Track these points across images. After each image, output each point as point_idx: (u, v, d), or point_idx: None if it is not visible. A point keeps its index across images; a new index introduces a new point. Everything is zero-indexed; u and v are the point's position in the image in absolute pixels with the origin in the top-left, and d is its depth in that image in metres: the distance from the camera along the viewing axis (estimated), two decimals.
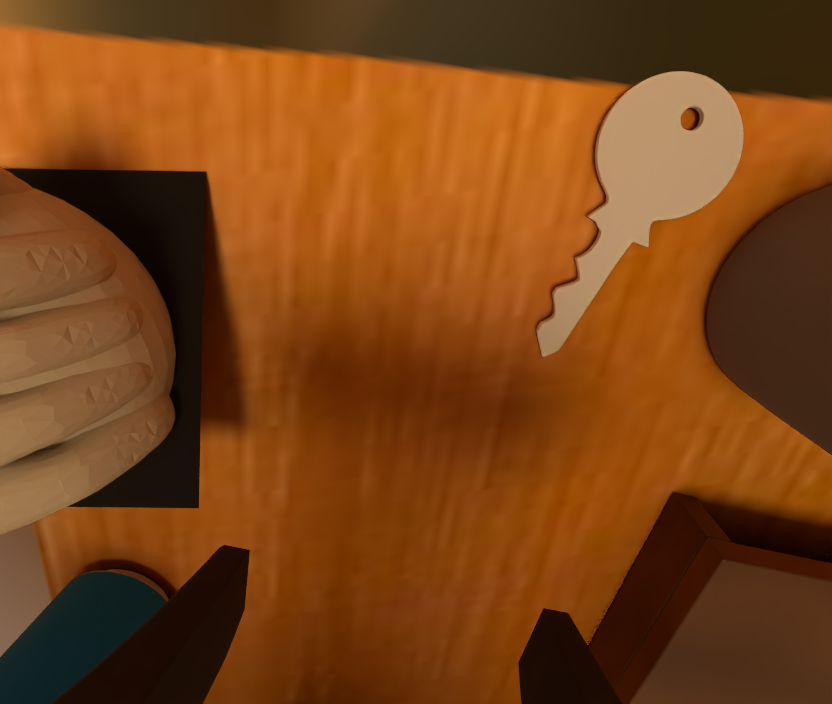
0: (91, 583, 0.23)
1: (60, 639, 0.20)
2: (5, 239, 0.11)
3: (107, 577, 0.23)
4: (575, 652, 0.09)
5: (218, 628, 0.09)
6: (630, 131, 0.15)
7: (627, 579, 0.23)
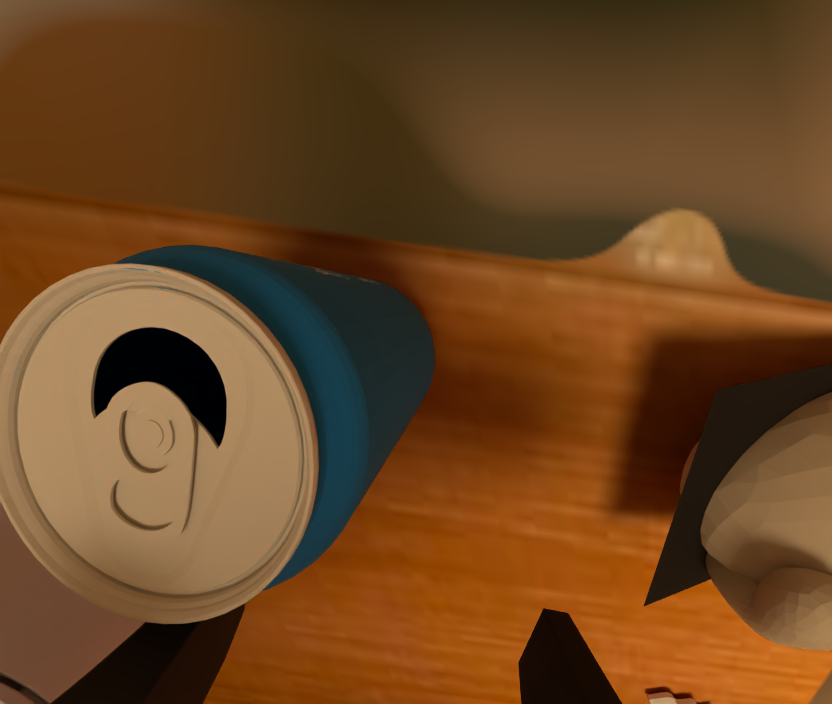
0: (432, 360, 0.16)
1: (418, 396, 0.13)
2: None
3: (432, 373, 0.17)
4: (575, 652, 0.09)
5: (217, 627, 0.09)
6: None
7: None
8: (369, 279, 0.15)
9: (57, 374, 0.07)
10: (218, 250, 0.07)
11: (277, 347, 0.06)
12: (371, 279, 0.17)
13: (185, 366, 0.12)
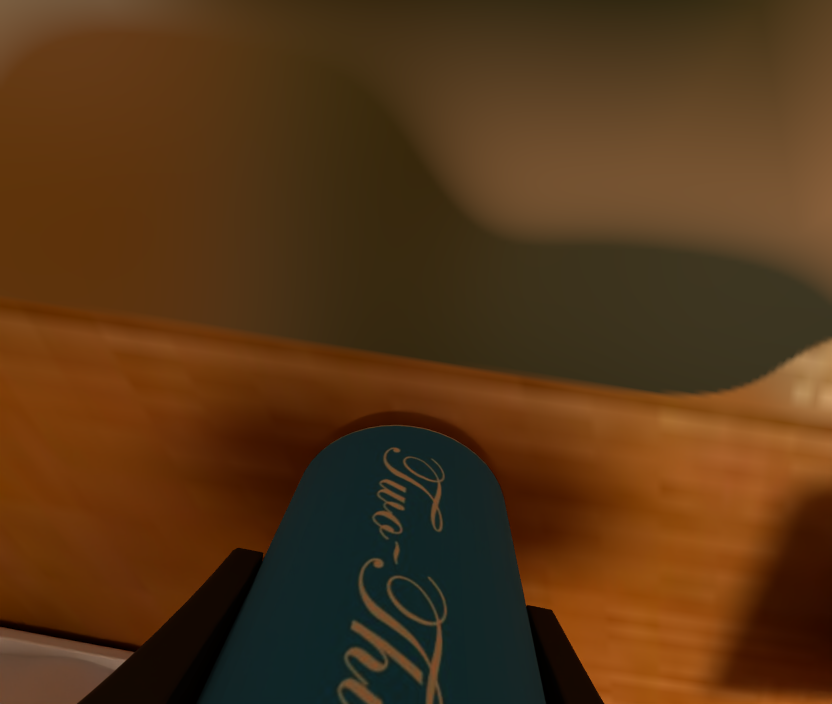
0: None
1: None
2: None
3: None
4: (556, 648, 0.09)
5: None
6: None
7: None
8: (425, 460, 0.11)
9: None
10: None
11: None
12: (417, 430, 0.12)
13: None
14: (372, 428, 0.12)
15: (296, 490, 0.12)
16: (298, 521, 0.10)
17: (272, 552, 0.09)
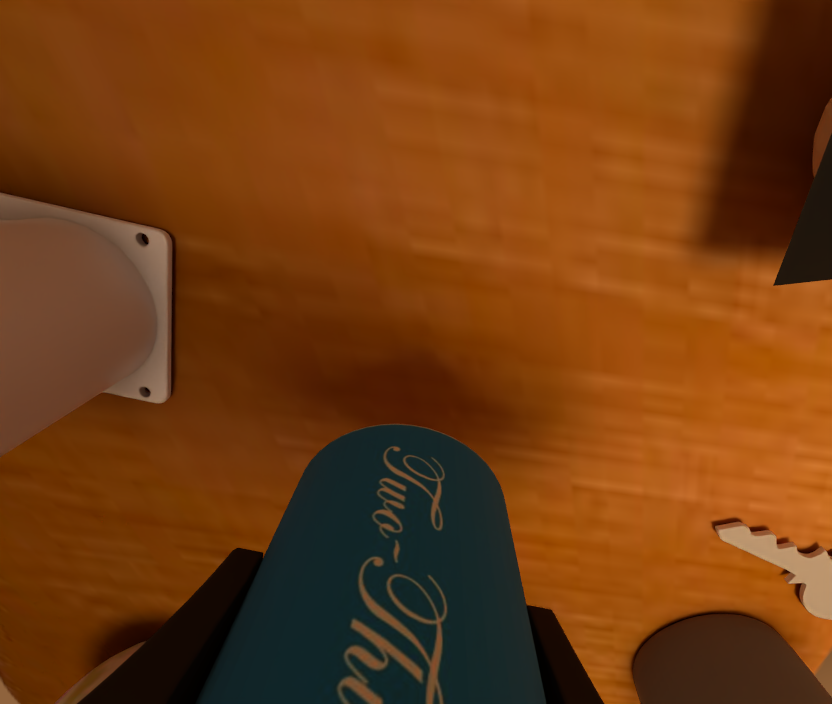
0: None
1: None
2: None
3: None
4: (556, 648, 0.09)
5: None
6: None
7: None
8: (425, 458, 0.11)
9: None
10: None
11: None
12: (417, 429, 0.12)
13: None
14: (372, 427, 0.12)
15: (296, 489, 0.12)
16: (298, 520, 0.10)
17: (272, 551, 0.09)
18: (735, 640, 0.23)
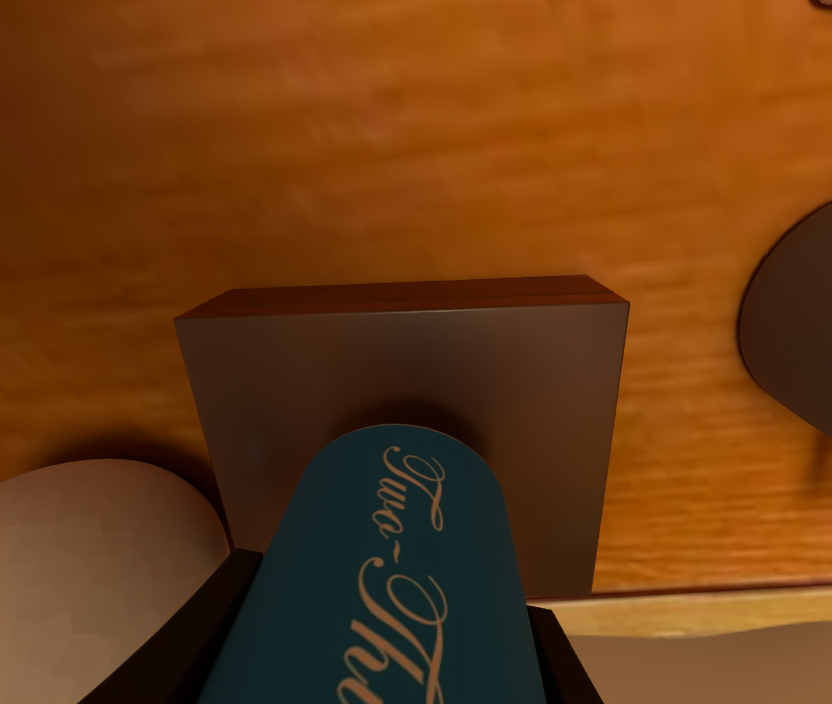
0: None
1: None
2: None
3: None
4: (556, 648, 0.09)
5: None
6: None
7: (435, 281, 0.16)
8: (425, 459, 0.11)
9: None
10: None
11: None
12: (417, 429, 0.12)
13: None
14: (372, 427, 0.12)
15: (296, 489, 0.12)
16: (297, 520, 0.09)
17: (272, 551, 0.09)
18: None
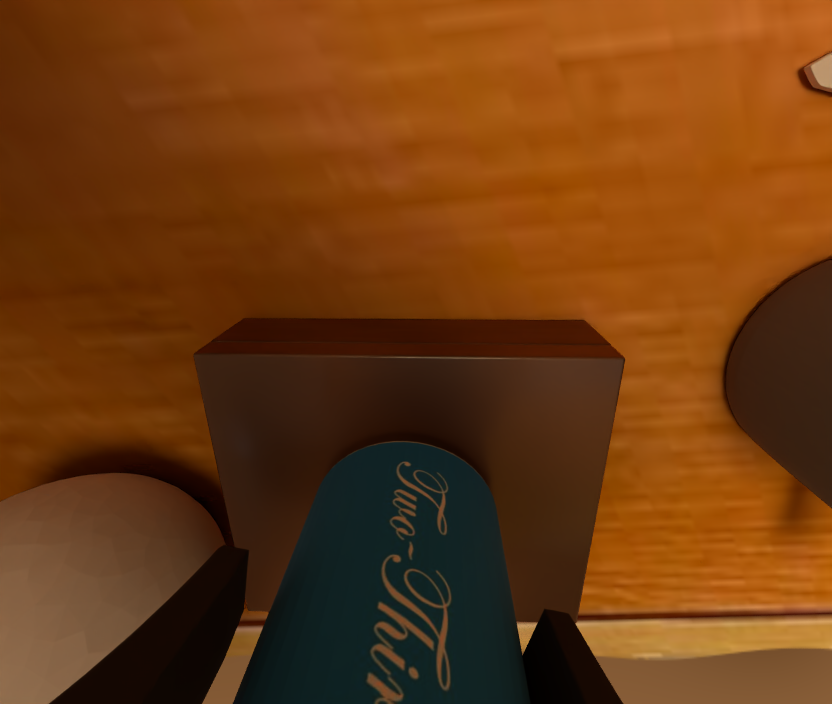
0: None
1: None
2: None
3: None
4: (576, 652, 0.09)
5: (217, 627, 0.09)
6: None
7: (441, 320, 0.17)
8: (431, 473, 0.13)
9: None
10: None
11: None
12: (424, 446, 0.14)
13: None
14: (385, 443, 0.14)
15: (318, 495, 0.14)
16: (326, 522, 0.11)
17: (304, 547, 0.11)
18: None
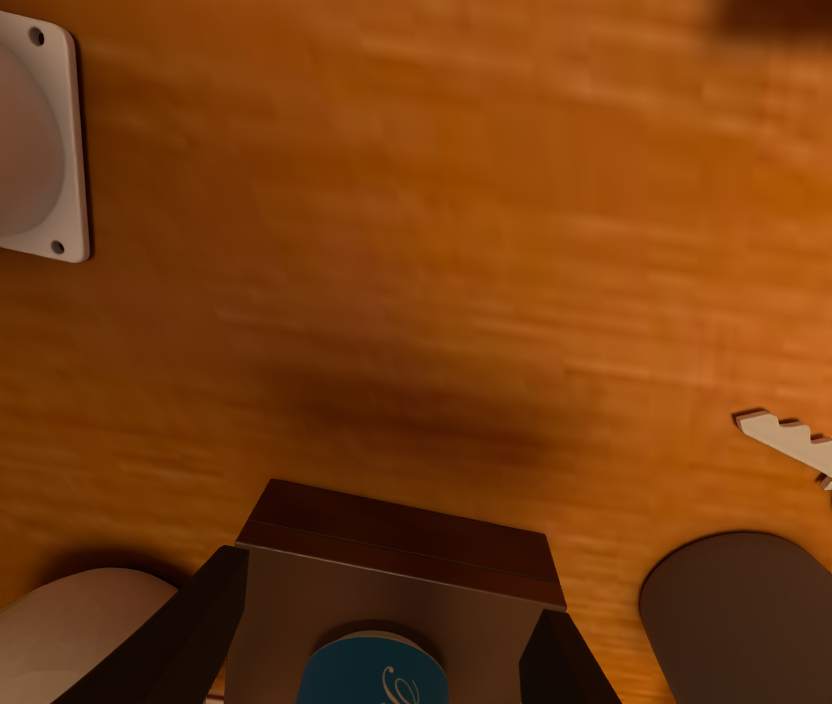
0: None
1: None
2: None
3: None
4: (575, 652, 0.09)
5: (218, 628, 0.09)
6: None
7: (433, 514, 0.21)
8: (408, 682, 0.16)
9: None
10: None
11: None
12: (404, 646, 0.18)
13: None
14: (374, 638, 0.18)
15: (315, 673, 0.17)
16: None
17: None
18: (761, 557, 0.19)
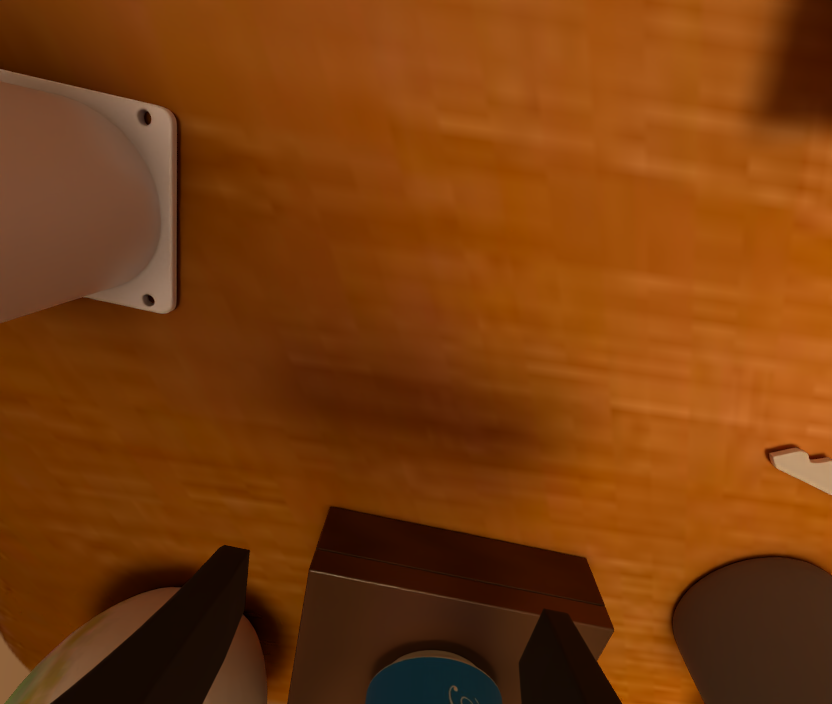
0: None
1: None
2: None
3: None
4: (575, 652, 0.09)
5: (218, 627, 0.09)
6: None
7: (482, 539, 0.23)
8: (472, 700, 0.18)
9: None
10: None
11: None
12: (464, 666, 0.19)
13: None
14: (437, 658, 0.19)
15: (383, 691, 0.19)
16: None
17: None
18: (790, 581, 0.21)
